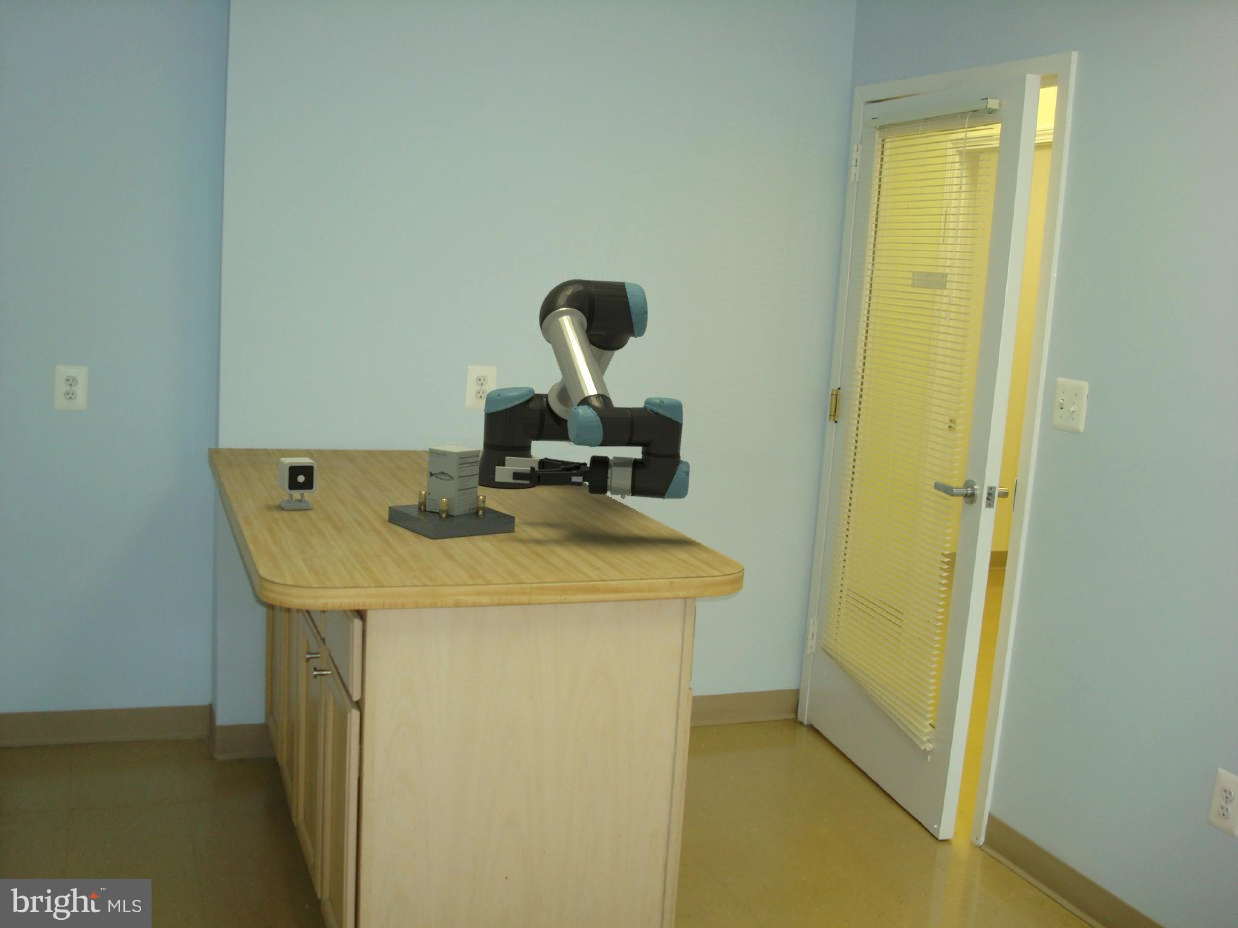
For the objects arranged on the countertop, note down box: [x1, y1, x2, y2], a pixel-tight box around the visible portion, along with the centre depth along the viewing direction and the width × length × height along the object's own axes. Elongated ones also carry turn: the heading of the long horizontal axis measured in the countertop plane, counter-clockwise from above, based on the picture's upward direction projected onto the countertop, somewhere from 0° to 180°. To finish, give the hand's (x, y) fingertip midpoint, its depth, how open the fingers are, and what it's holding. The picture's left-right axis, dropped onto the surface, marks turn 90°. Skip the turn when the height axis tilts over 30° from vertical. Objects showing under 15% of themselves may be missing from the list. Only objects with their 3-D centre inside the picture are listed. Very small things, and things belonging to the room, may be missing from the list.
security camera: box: [278, 457, 318, 511], centre depth 236 cm, size 6×7×10 cm
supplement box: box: [426, 444, 481, 516], centre depth 226 cm, size 7×7×13 cm
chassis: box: [387, 490, 516, 540], centre depth 227 cm, size 18×18×6 cm
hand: (500, 468), depth 225 cm, fingers open, 13 cm apart
